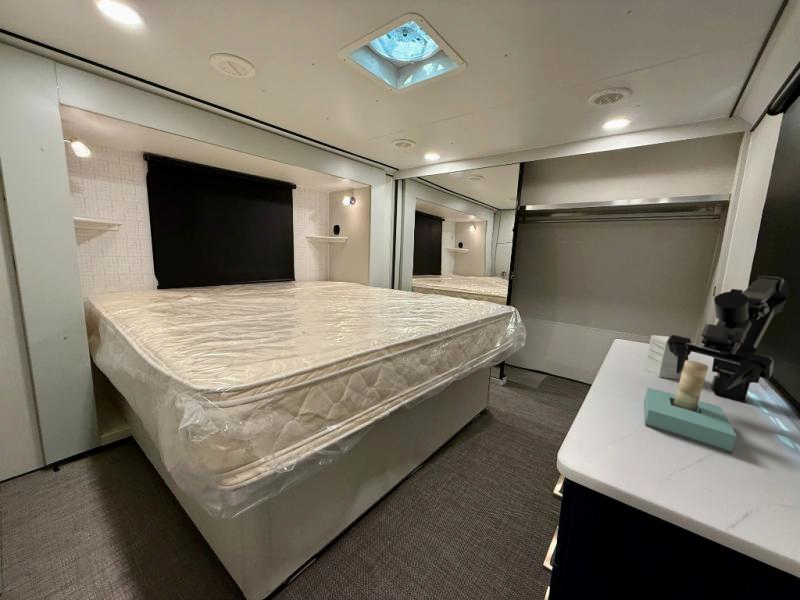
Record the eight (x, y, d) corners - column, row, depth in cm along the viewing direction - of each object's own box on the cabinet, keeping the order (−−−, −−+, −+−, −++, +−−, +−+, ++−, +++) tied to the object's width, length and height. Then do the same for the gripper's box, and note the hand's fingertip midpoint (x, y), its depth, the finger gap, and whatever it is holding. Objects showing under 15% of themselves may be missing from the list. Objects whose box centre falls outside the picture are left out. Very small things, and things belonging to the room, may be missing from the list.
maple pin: (685, 415, 76) (700, 362, 73) (696, 424, 72) (712, 368, 70) (667, 411, 77) (681, 359, 74) (676, 420, 73) (692, 365, 71)
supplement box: (665, 370, 108) (673, 336, 106) (682, 379, 101) (691, 343, 99) (643, 368, 109) (650, 334, 107) (658, 377, 102) (666, 341, 99)
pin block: (716, 421, 75) (720, 406, 74) (731, 453, 63) (736, 436, 62) (644, 400, 84) (647, 387, 83) (645, 425, 71) (648, 409, 70)
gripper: (678, 305, 84) (650, 348, 80) (784, 323, 68) (755, 378, 64) (683, 331, 89) (657, 372, 86) (783, 352, 73) (756, 404, 70)
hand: (700, 380), depth 76 cm, fingers open, 9 cm apart
